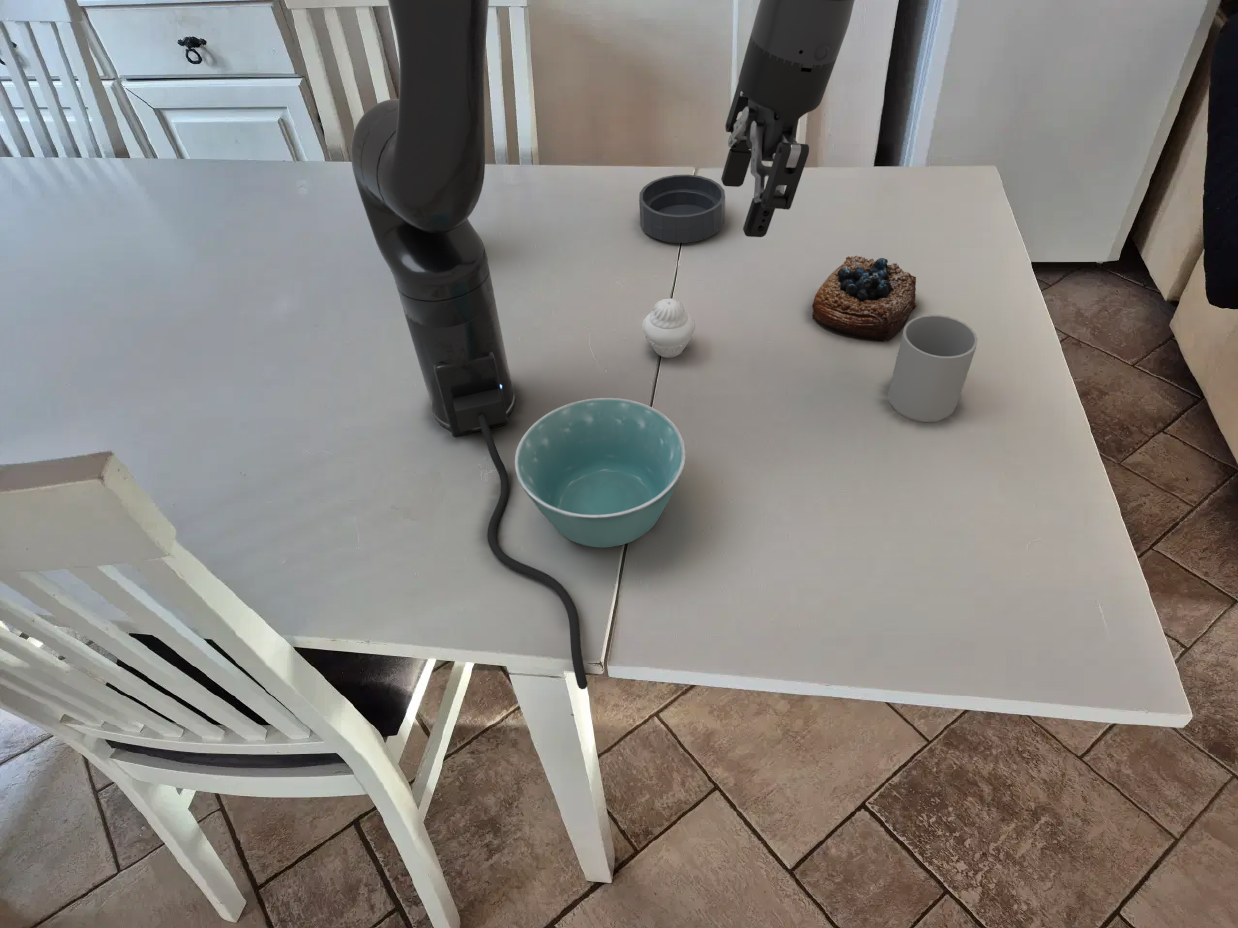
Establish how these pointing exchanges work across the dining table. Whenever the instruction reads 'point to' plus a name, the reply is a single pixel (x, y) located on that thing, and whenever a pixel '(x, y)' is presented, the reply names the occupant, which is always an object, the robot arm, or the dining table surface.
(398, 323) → the dining table surface
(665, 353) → the white cupcake
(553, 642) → the dining table surface
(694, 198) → the grey shallow dish
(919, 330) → the cup
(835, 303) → the pastry
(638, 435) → the bowl
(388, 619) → the dining table surface
